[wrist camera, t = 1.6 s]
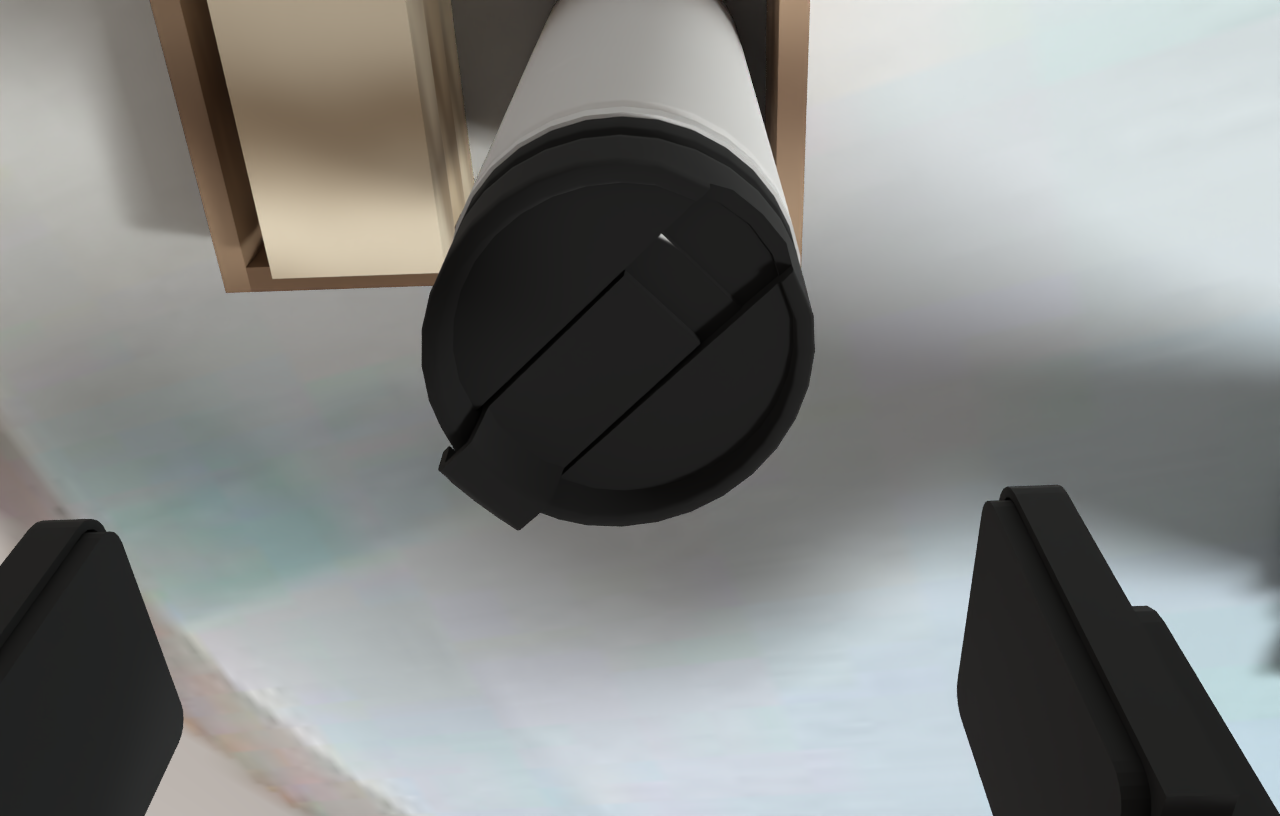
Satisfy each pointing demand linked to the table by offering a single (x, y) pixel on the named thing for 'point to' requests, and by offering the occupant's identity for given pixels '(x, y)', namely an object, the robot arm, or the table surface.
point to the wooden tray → (246, 259)
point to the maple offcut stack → (348, 130)
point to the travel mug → (620, 279)
